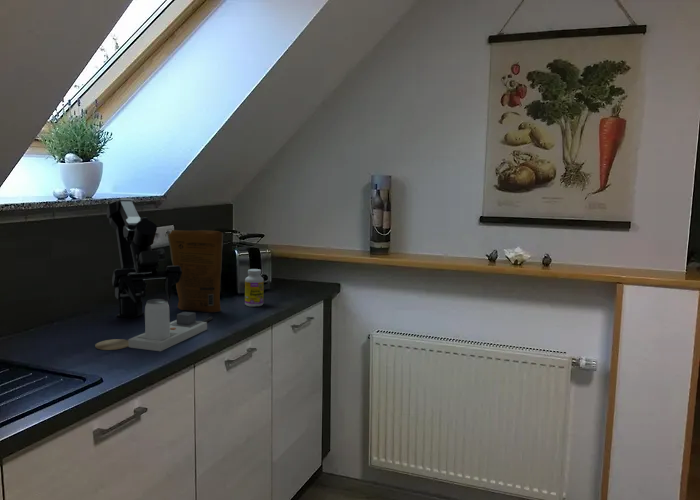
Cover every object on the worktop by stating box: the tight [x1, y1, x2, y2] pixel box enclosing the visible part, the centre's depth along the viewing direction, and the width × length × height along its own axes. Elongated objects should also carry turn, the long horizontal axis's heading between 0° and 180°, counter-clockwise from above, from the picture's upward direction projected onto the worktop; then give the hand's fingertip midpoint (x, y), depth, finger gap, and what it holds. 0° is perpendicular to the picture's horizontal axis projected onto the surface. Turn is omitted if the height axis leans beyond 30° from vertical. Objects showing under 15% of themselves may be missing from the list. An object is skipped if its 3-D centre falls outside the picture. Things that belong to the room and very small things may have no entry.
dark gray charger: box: [176, 311, 197, 325], centre depth 181 cm, size 4×4×3 cm
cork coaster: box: [94, 338, 129, 351], centre depth 165 cm, size 9×9×1 cm
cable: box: [202, 316, 213, 323], centre depth 191 cm, size 10×1×1 cm, turn 168°
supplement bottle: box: [244, 268, 265, 308], centre depth 217 cm, size 7×7×13 cm
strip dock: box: [127, 319, 208, 352], centre depth 173 cm, size 10×24×2 cm, turn 163°
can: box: [144, 298, 171, 341], centre depth 167 cm, size 6×6×12 cm
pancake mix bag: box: [167, 229, 224, 313], centre depth 205 cm, size 7×19×28 cm, turn 77°
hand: (152, 300), depth 170 cm, fingers open, 9 cm apart
